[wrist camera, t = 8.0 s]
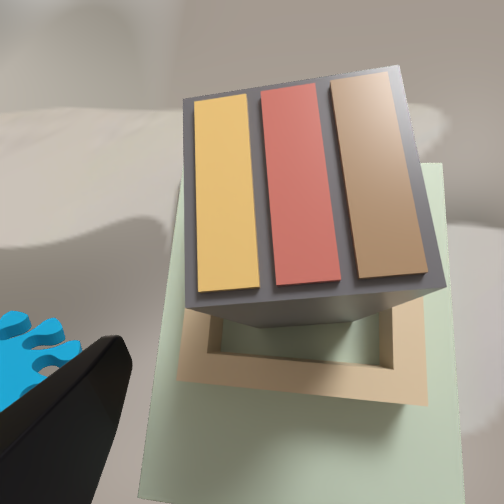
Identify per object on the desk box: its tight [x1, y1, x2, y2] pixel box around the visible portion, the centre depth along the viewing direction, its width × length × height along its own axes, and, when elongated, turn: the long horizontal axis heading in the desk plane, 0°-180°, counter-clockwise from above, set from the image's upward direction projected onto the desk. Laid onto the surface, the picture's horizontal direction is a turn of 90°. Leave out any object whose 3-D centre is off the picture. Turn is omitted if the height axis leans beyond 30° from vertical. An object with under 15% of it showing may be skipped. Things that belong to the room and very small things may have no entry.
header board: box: [138, 163, 465, 504], centre depth 16 cm, size 17×14×4 cm
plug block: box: [183, 65, 447, 329], centre depth 12 cm, size 4×4×11 cm
